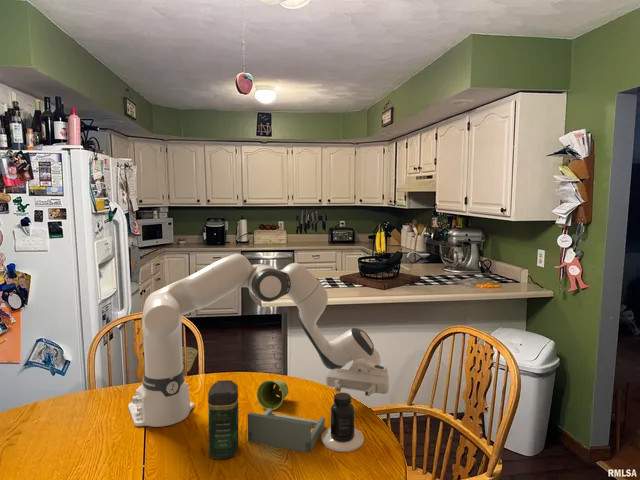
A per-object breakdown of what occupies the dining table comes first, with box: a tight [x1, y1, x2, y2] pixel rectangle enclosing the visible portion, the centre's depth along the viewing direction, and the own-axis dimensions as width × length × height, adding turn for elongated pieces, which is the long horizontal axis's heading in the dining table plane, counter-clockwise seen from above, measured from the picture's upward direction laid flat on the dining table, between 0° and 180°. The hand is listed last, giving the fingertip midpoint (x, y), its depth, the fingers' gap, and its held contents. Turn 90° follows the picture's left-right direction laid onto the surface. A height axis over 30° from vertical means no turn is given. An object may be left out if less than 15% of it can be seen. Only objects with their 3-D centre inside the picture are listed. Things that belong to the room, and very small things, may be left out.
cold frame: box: [247, 408, 326, 454], centre depth 128 cm, size 14×18×8 cm
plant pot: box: [256, 379, 289, 411], centre depth 147 cm, size 9×9×9 cm
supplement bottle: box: [330, 392, 356, 442], centre depth 125 cm, size 7×7×12 cm
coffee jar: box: [207, 379, 240, 460], centre depth 119 cm, size 10×8×19 cm
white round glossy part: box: [320, 426, 365, 453], centre depth 126 cm, size 12×12×1 cm
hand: (352, 391), depth 134 cm, fingers open, 8 cm apart
